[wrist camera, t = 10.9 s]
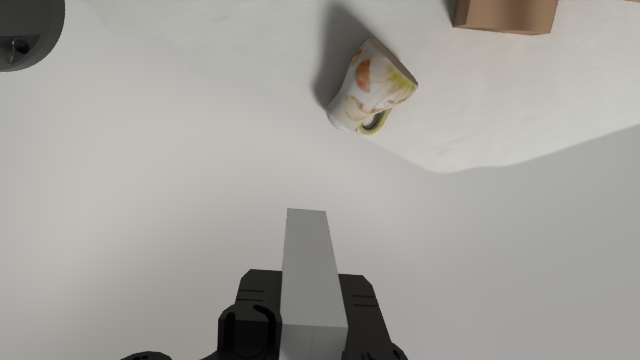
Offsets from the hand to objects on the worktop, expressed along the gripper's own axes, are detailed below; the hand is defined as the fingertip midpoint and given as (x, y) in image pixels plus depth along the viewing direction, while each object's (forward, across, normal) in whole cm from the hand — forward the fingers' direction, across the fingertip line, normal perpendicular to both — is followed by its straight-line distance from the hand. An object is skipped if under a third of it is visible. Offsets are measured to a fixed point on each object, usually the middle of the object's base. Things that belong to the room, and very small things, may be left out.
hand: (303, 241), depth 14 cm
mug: (+29, +7, +5) cm, 30 cm away
